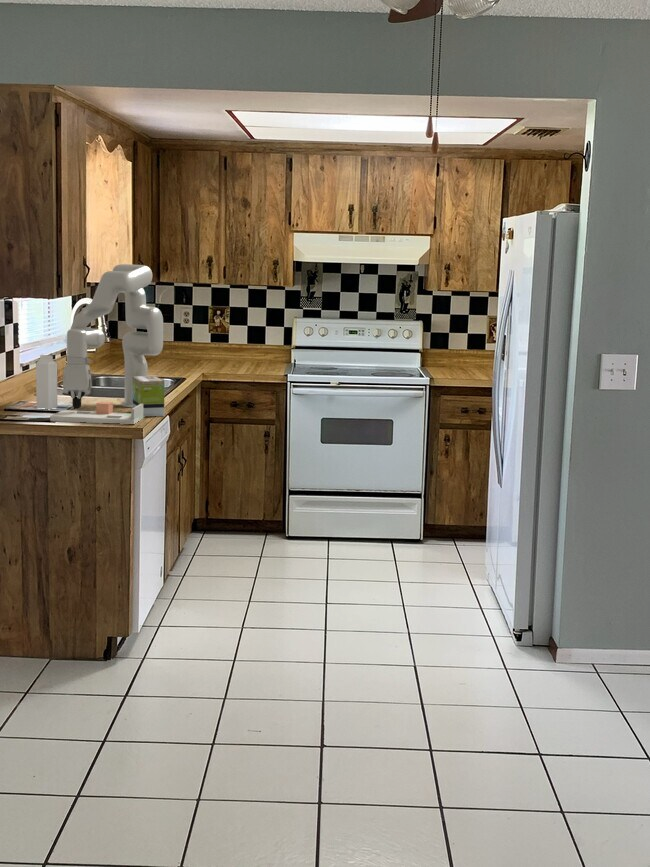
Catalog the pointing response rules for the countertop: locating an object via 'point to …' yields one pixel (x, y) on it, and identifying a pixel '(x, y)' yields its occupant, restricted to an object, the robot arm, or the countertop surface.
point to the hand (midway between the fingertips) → (76, 408)
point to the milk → (46, 382)
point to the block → (104, 408)
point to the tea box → (149, 395)
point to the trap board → (99, 416)
